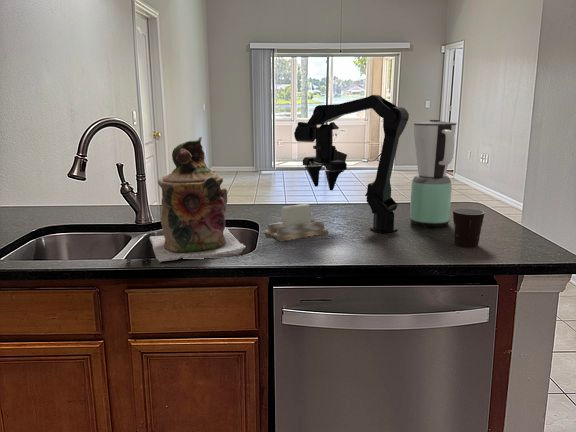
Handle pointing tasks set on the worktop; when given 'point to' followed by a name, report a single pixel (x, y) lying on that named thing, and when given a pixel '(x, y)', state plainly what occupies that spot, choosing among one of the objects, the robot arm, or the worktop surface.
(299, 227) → the track base
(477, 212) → the dark brown cup
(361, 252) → the worktop surface
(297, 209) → the door panel
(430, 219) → the mint green blender
